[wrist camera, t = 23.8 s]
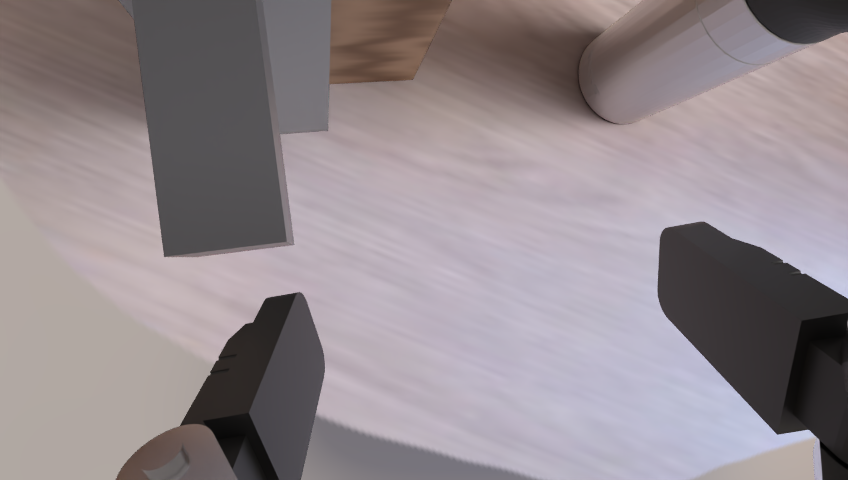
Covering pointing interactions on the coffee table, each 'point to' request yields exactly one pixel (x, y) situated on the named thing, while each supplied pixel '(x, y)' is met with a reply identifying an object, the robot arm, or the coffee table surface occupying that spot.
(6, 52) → the coffee table surface
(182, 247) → the action camera
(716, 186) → the coffee table surface
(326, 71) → the grey rectangular block
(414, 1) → the walnut post
